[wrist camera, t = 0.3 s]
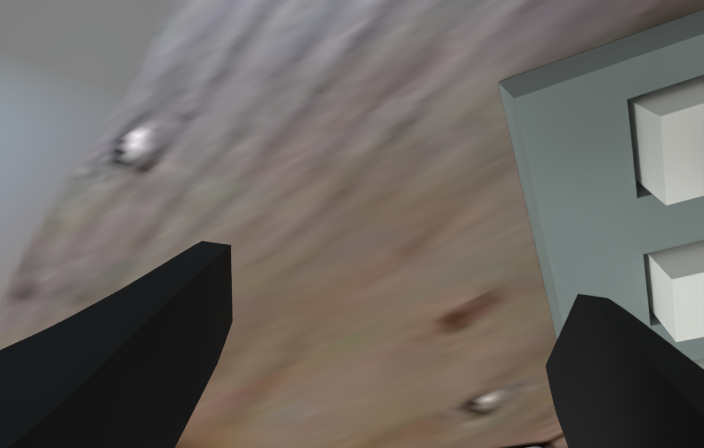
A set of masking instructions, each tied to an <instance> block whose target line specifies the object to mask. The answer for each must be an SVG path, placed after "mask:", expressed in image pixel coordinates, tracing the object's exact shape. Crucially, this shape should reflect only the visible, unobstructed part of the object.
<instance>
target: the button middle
mask: <svg viewBox="0 0 704 448" xmlns="http://www.w3.org/2000/svg"><path fill="white" fill-rule="evenodd" d="M643 259H644V268H645V278H646V288H647V297H648V306H649V308H650V309H651V310H652V312H653V313H654V314H655V316H656V317H657V318H658V319H659V321H660V322H661V323H662V325H663V326H664V327H665V328H666V330H667V331H668V332H669V334H670V335H671V336H672V338H673V339H674V340H675V341H676V342H680V341H685V340H691V339H696V338H701V337H704V240H700V241H696V242H692V243H688V244H684V245H680V246H676V247H671V248H667V249H663V250H659V251H655V252H651V253H647V254H643Z"/></svg>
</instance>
